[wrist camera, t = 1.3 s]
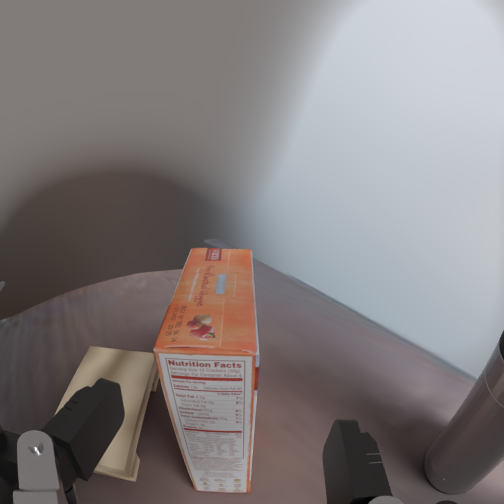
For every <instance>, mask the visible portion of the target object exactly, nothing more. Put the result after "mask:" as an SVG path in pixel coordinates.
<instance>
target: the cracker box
mask: <svg viewBox="0 0 504 504" xmlns="http://www.w3.org/2000/svg"><path fill="white" fill-rule="evenodd" d="M153 353H154V358H155V362H156V365H157V369H158V373H159V377H160V381H161V386H162V390H163V393H164V397H165V400H166V404H167V407H168V411H169V414H170V418H171V421H172V424H173V428H174V431H175V434H176V437H177V440H178V444H179V447H180V450H181V453H182V456H183V458H184V461H185V464H186V467H187V470H188V472H189V475H190V478H191V480H192V483H193V486H194V488H195V490H196V491H207V492H224V493H250V482H251V467H252V454H253V440H254V427H255V414H256V401H257V388H258V375H259V344H258V329H257V314H256V299H255V287H254V273H253V260H252V250H251V249H217V248H195V249H191V251H190V254H189V256H188V258H187V261H186V264H185V266H184V269H183V271H182V274H181V277H180V279H179V282H178V284H177V287H176V290H175V292H174V295H173V298H172V300H171V303H170V305H169V307H168V310H167V312H166V315H165V317H164V320H163V323H162V326H161V328H160V331H159V334H158V336H157V339H156V342H155V345H154V348H153Z"/></svg>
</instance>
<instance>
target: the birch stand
mask: <svg viewBox="0 0 504 504" xmlns="http://www.w3.org/2000/svg"><path fill="white" fill-rule="evenodd" d="M100 378H104V379H107V380H110V381H113V382H116V383H119V384H120V387H121V393H122V399H123V404H124V410H125V417H124V421H123V424H122V426H121V427H120V429H119V431H118V432H117V434H116V435H115V437H114V439H113V440H112V442H111V444H110V445H109V447H108V448H107V450H106V452H105V453H104V455H103V457H102V458H101V460H100V462H99V463H98V465H97V466H96V468H95V470H94V471H93V472H95V473H98V474H102V475H106V476H111V477H115V478H119V479H124V480H129V481H134V482H136V478H137V473H138V468H139V463H140V459H139V457H138V455H137V453H136V448H137V444H138V440H139V436H140V431H141V427H142V423H143V419H144V415H145V411H146V407H147V403H148V399H149V396H150V392H151V391H154V392H156V389H157V385H158V381H159V373H158V369H157V365H156V362H155V358H154V353H149V352H138V351H128V350H118V349H110V348H102V347H95V346H90V347H89V349H88V351H87V353H86V355H85V356H84V358H83V360H82V362H81V364H80V366H79V367H78V369H77V371H76V373H75V375H74V377H73V379H72V381H71V383H70V385H69V386H68V388H67V390H66V392H65V394H64V396H63V398H62V400H61V402H60V405H59V407H58V409H57V411H56V413H55V415H56V414H57V412H58V411H59V410H60V409H61V408H62V407H64V405H65V403H66V402H67V401H69V399H70V398H71V397H72V396H73V395H74V393H75V392H76V391H78V390H80V389H82V388H84V387H86V386H89V387H92V386H93V385H94V384H95V383H96V381H97V380H98V379H100ZM55 415H54V416H55Z"/></svg>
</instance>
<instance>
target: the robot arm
mask: <svg viewBox="0 0 504 504" xmlns="http://www.w3.org/2000/svg"><path fill="white" fill-rule="evenodd" d="M124 417H125V410H124V404H123V399H122V393H121V387H120V384H119V383H116V382H113V381H110V380H107V379H104V378H100V379H98V380H97V381H96V383H95V384H94V385H93V386H92V387H89V386H86V387H84V388H82V389H80V390H78V391H76V392H75V393H74V395H73V396H72V397H71V398H70V399H69V401H67V402H66V403H65V405H64V407H62V408H61V409H60V410H59V411H58V412H57V414H56V415H55V416H54V417H53V418H52V419H51V420H50V421H49V423H48V424H47V425H46V426H45V427H44V428H43V429H42V430H41V431H37V430H32V431H28V432H25V433H24V434H22V435H18V434H14V433H11V432H7V431H4V430H3V429H2V427H1V425H0V504H12V503H13V502H14V504H80V503H79V499H78V495H77V491H76V487H75V484H74V482H75V480H76V479H77V477H79V478H81V479H83V480H85V481H88V480H89V478H90V476H91V475H92V473H93V471H94V470H95V468H96V466H97V465H98V463H99V462H100V460H101V458H102V457H103V455H104V453H105V452H106V450H107V448H108V447H109V445H110V444H111V442H112V440H113V439H114V437H115V435H116V434H117V432H118V431H119V429H120V427H121V426H122V424H123V421H124ZM503 460H504V331H503V333H502V335H501V337H500V340H499V342H498V344H497V346H496V348H495V350H494V352H493V353H492V355H491V357H490V359H489V361H488V363H487V365H486V367H485V369H484V370H483V372H482V374H481V375H480V377H479V379H478V380H477V382H476V383H475V385H474V387H473V388H472V390H471V391H470V393H469V395H468V396H467V398H466V399H465V401H464V402H463V404H462V405H461V406H460V408H459V409H458V411H457V412H456V414H455V415H454V416H453V418H452V419H451V421H450V422H449V423H448V425H447V426H446V427H445V428H444V430H443V431H442V432H441V434H440V435H439V436H438V437H437V439H436V440H435V441H434V442H433V444H432V445H431V446H430V447H429V449H428V451H427V453H426V455H425V459H424V470H425V473H426V476H427V478H428V480H429V481H430V483H431V484H432V485H433V486H434V487H435V488H437V489H438V490H439V491H442V492H444V493H448V494H460V493H463V492H466V491H468V490H470V489H471V488H472V487H474V486H475V485H476V484H477V483H478V482H480V481H481V480H482V479H483V478H484V477H485V476H487V475H488V474H489V473H490V472H491V471H492V470H493V469H494V468H496V467H497V466H498V465H499V464H500V463H501V462H502V461H503ZM323 468H324V476H325V485H326V495H327V504H403V502H401V501H400V500H399V499H397V498H395V497H393V495H392V493H391V490H390V486H389V483H388V479H387V476H386V473H385V469H384V466H383V463H382V459H381V456H380V455H379V450H378V447H377V443H376V441H375V440H374V439H373V438H372V437H371V436H370V434H369V433H360V429H359V425H358V422H357V421H356V420H335V422H334V424H333V426H332V428H331V431H330V433H329V436H328V438H327V440H326V443H325V445H324V449H323ZM436 504H457V503H455V502H452V501H441V502H438V503H436Z"/></svg>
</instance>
